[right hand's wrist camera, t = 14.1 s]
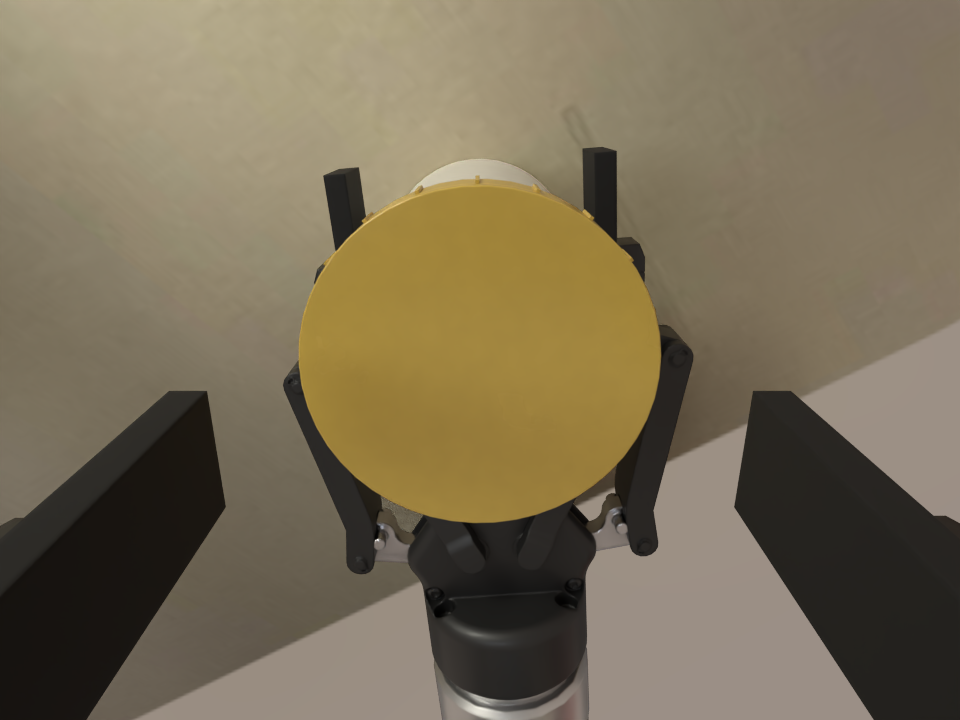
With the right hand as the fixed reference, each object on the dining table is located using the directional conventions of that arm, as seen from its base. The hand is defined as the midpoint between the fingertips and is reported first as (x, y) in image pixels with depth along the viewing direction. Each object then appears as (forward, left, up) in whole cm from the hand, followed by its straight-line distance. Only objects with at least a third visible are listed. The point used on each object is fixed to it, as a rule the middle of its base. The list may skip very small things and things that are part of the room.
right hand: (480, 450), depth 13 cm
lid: (0, 0, -4) cm, 4 cm away
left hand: (-1, +5, -13) cm, 13 cm away
